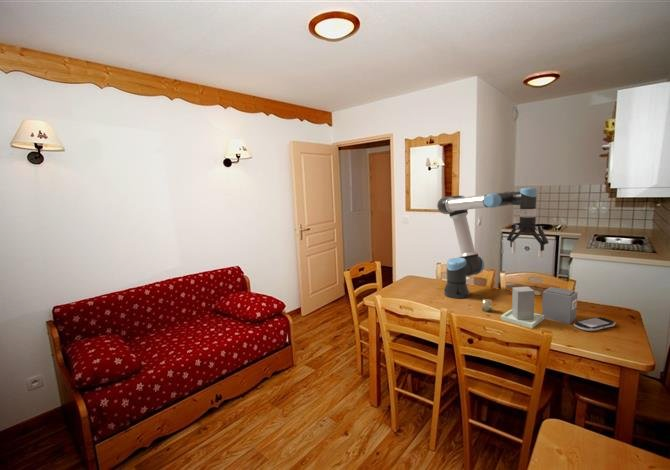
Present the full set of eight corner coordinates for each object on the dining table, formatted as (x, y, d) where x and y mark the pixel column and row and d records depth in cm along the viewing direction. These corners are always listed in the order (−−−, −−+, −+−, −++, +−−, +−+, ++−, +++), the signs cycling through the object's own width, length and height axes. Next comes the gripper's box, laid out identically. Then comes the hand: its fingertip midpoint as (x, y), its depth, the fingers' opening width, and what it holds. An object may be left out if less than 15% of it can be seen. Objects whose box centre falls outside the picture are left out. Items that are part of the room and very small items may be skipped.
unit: (541, 317, 165) (543, 290, 163) (549, 311, 171) (550, 285, 169) (570, 324, 156) (571, 296, 154) (577, 318, 162) (578, 291, 160)
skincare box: (527, 314, 168) (528, 285, 165) (534, 320, 161) (535, 290, 158) (510, 314, 168) (511, 286, 166) (517, 320, 161) (518, 290, 159)
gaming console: (587, 334, 147) (588, 329, 146) (569, 326, 155) (569, 321, 155) (619, 327, 151) (619, 322, 151) (599, 319, 160) (599, 314, 159)
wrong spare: (480, 310, 179) (480, 300, 178) (484, 308, 182) (484, 298, 181) (489, 313, 175) (489, 302, 174) (493, 310, 178) (493, 300, 177)
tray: (500, 319, 166) (500, 315, 166) (513, 311, 175) (513, 307, 175) (532, 328, 154) (532, 324, 154) (544, 319, 163) (544, 315, 163)
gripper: (500, 216, 179) (500, 252, 183) (551, 218, 159) (549, 259, 163) (507, 214, 184) (506, 250, 187) (557, 216, 164) (555, 256, 167)
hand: (526, 254), depth 175 cm, fingers open, 13 cm apart
